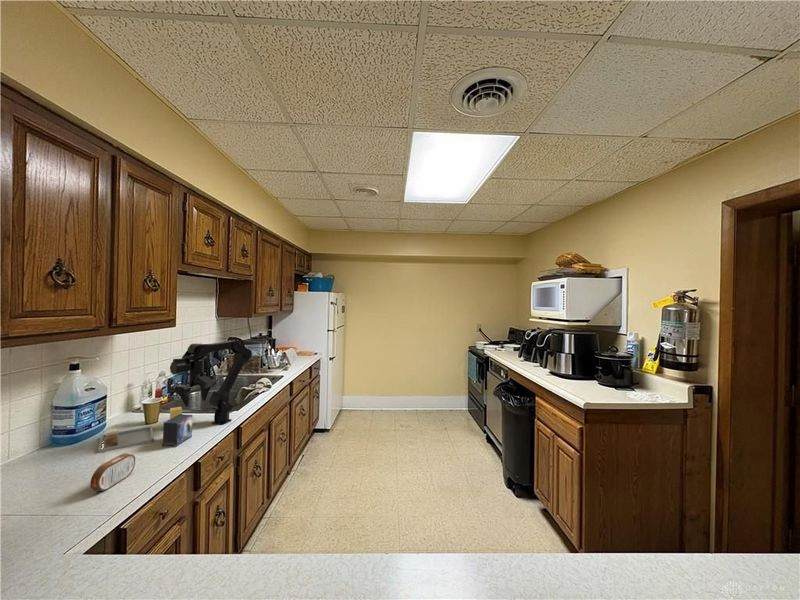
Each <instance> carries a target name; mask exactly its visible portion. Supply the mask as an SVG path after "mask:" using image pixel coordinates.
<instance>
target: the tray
mask: <svg viewBox="0 0 800 600" xmlns="http://www.w3.org/2000/svg"><path fill="white" fill-rule="evenodd" d="M105 439H106V433H104V434H101V435H100V439H99V443H98V449H97V454H101V452H102V453H106V452H111V451H115V450H116V451H117V450H121V449H125V448H131V447H136V446H140V445H145V444H150V443H154V442H155V440H154V432H153V426H152V425H150V426H145V427H138V428H134V429H133V428H132V429H128V430H122V431H118V445H117V446H113V447H108V448H105ZM103 441H104V442H103ZM102 442H103V443H102ZM102 444H104V448H103V449H101V448H102Z"/></svg>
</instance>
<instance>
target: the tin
mask: <svg viewBox="0 0 800 600" xmlns="http://www.w3.org/2000/svg"><path fill="white" fill-rule="evenodd" d="M135 465H136V456H135V455H134V454H132V453H127V452H126V453H125V452H123V453H121V454H119V455H118V456H115V457H113V458H112V459H110V460H108V461H106V462H103V463H102V464H101V465H99V466H98V467H97V468H96V469H95V471H94V472H93V474H92V476H91V478H90V481H89V482H90V483H89V485H90V486H89V487H90V489H91V490H92V491H99V492H104V491H107V490H109V489H110V488H112V487H114V486H115V485H117V484H119V483H120V482H122V481H123V479H124V480H125V479H127V478H128V477H129V476H130V475H131V474H132V472H133V471H134V469H135ZM126 477H127V478H126Z"/></svg>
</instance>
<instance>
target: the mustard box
mask: <svg viewBox="0 0 800 600" xmlns="http://www.w3.org/2000/svg"><path fill="white" fill-rule="evenodd" d="M179 414H183V408H182V406H177V407H170V408H169V419H171V418H173V417H175V416H177V415H179Z"/></svg>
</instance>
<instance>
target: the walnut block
mask: <svg viewBox="0 0 800 600" xmlns="http://www.w3.org/2000/svg"><path fill="white" fill-rule="evenodd" d="M117 445H118V434H112V435H107V436H106V439H105V448H108V447H113V446H117Z"/></svg>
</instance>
